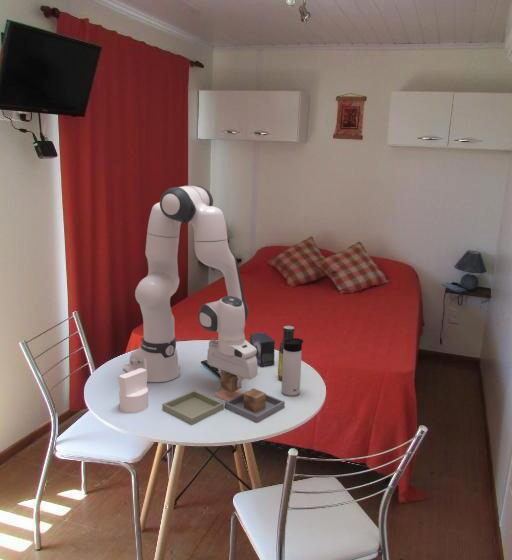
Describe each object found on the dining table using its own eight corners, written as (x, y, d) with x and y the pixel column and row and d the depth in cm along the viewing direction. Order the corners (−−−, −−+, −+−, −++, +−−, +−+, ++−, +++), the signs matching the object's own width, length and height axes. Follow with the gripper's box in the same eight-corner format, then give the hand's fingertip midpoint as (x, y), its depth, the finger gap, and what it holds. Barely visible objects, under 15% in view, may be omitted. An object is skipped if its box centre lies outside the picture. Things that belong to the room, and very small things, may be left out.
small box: (248, 358, 212) (249, 333, 209) (263, 355, 215) (263, 331, 212) (259, 367, 203) (260, 342, 200) (274, 365, 205) (275, 340, 203)
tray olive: (162, 411, 167) (162, 404, 166) (194, 396, 177) (194, 390, 176) (191, 426, 158) (191, 418, 158) (223, 410, 168) (223, 403, 168)
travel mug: (299, 399, 178) (302, 343, 173) (280, 396, 179) (282, 341, 174) (301, 391, 183) (304, 337, 179) (282, 389, 185) (285, 335, 180)
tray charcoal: (224, 409, 169) (224, 402, 168) (252, 395, 179) (252, 388, 179) (256, 424, 160) (257, 416, 160) (284, 408, 171) (284, 401, 170)
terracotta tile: (213, 396, 178) (213, 393, 177) (229, 389, 184) (229, 386, 183) (230, 404, 173) (230, 401, 172) (246, 396, 179) (246, 393, 178)
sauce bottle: (288, 383, 189) (290, 331, 184) (274, 379, 193) (276, 327, 188) (298, 377, 194) (300, 327, 189) (284, 373, 198) (286, 323, 193)
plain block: (243, 407, 169) (244, 393, 168) (253, 402, 173) (254, 388, 172) (255, 412, 166) (255, 398, 165) (265, 407, 170) (265, 393, 169)
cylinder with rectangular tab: (136, 398, 175) (135, 365, 172) (154, 407, 169) (153, 372, 167) (114, 407, 168) (112, 373, 165) (131, 417, 163) (130, 381, 160)
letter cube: (220, 388, 177) (220, 374, 176) (230, 383, 181) (230, 369, 180) (231, 392, 174) (231, 378, 173) (241, 387, 178) (241, 373, 177)
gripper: (202, 340, 178) (202, 377, 181) (248, 355, 165) (247, 395, 169) (215, 335, 183) (215, 372, 186) (260, 350, 170) (259, 389, 173)
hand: (231, 383), depth 177 cm, fingers closed on letter cube, 5 cm apart
